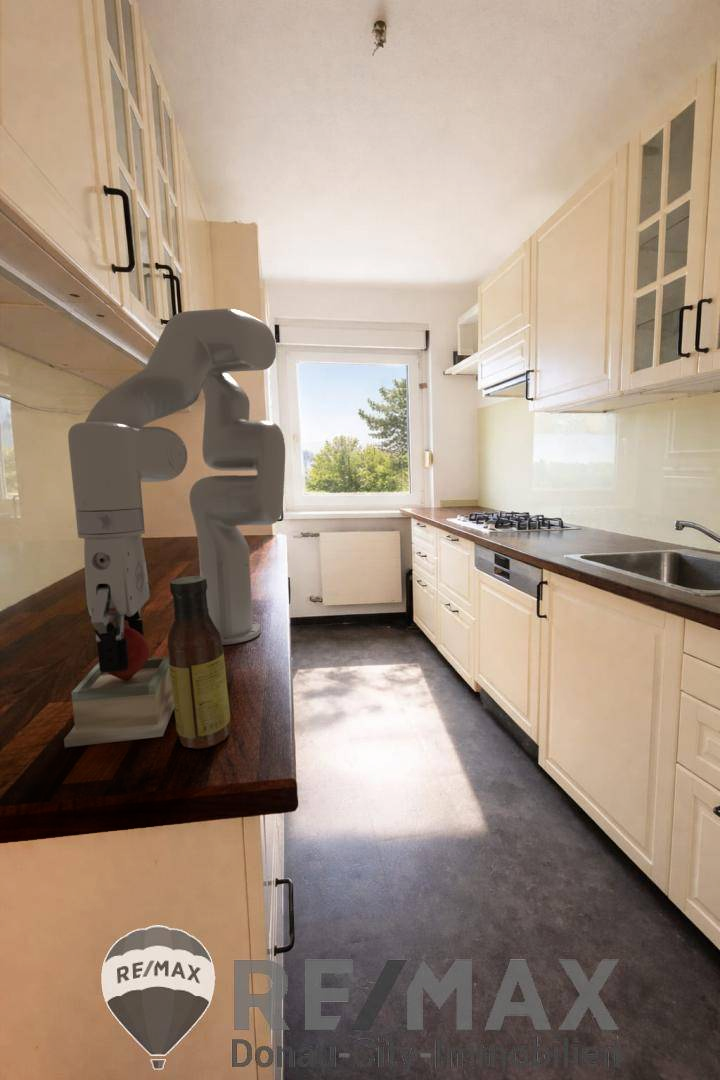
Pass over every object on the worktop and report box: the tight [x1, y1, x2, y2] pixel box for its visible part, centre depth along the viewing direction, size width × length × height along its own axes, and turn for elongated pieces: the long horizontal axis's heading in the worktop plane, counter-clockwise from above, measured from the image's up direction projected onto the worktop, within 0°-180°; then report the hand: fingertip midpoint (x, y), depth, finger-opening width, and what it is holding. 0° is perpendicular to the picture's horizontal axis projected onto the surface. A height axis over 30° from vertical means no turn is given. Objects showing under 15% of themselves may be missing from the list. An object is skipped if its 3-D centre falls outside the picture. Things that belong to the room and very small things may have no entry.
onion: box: [107, 621, 150, 681], centre depth 63 cm, size 6×6×8 cm
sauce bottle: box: [166, 575, 231, 750], centre depth 57 cm, size 7×6×20 cm
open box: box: [63, 656, 175, 748], centre depth 63 cm, size 12×11×6 cm
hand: (123, 657), depth 62 cm, fingers open, 6 cm apart
